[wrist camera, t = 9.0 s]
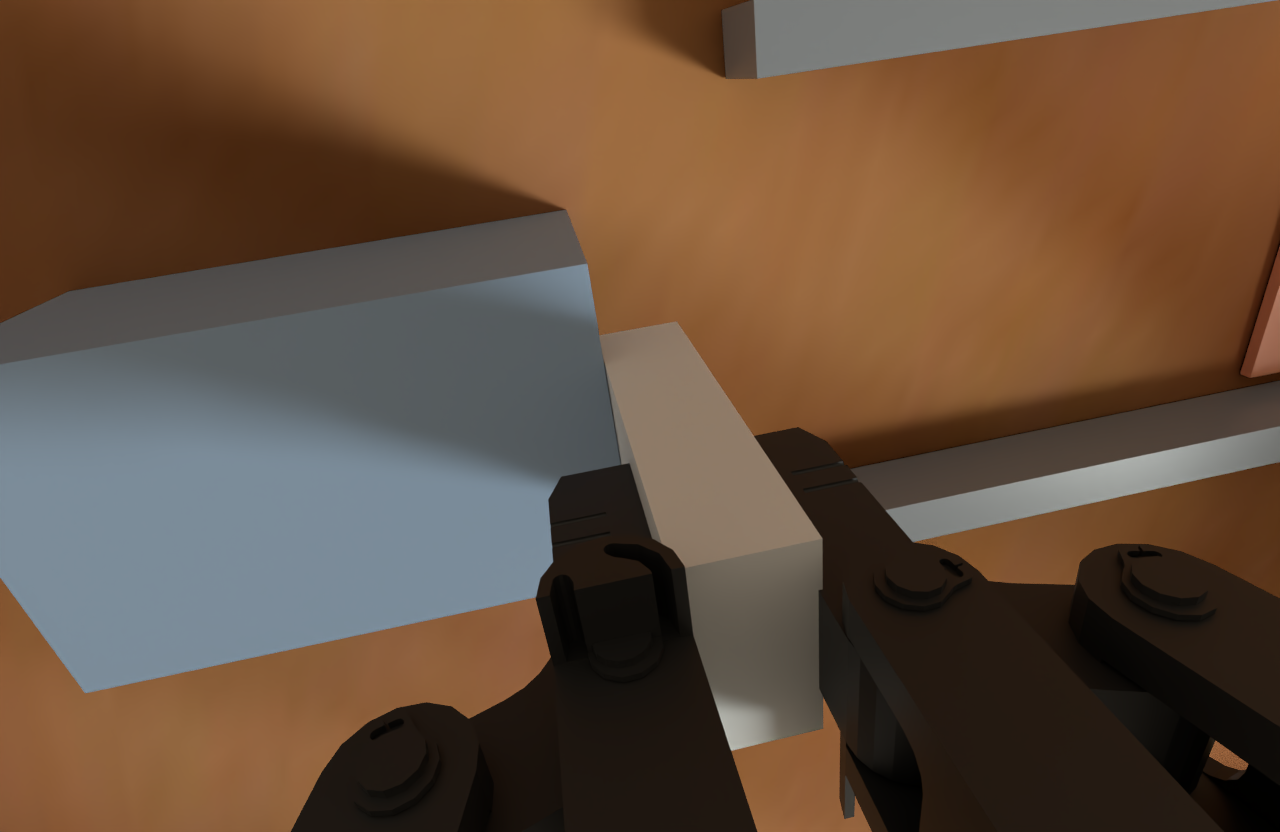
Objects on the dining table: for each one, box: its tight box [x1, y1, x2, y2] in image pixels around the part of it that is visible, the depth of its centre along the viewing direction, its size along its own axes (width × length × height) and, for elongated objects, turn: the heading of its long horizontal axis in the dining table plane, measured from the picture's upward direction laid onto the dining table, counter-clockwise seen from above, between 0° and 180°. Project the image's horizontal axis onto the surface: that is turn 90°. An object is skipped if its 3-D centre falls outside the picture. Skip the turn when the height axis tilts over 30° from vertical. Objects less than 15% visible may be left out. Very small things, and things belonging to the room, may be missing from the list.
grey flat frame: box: [721, 0, 1280, 542], centre depth 16 cm, size 22×12×2 cm, turn 97°
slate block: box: [0, 210, 621, 693], centre depth 13 cm, size 10×6×5 cm, turn 97°
